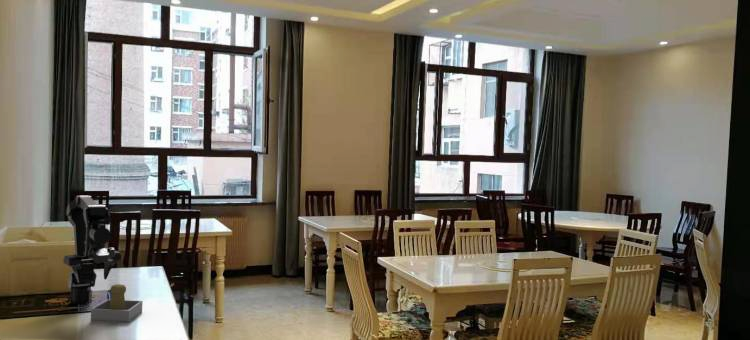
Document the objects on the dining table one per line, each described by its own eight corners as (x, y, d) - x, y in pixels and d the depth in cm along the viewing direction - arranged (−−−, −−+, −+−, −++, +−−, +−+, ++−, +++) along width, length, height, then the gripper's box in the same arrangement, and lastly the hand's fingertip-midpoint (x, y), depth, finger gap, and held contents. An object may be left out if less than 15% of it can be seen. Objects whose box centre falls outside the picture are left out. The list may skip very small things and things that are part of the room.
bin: (90, 321, 193) (91, 309, 193) (106, 310, 206) (107, 299, 206) (128, 322, 193) (129, 310, 193) (142, 312, 206) (142, 300, 206)
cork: (111, 312, 202) (113, 282, 202) (128, 312, 203) (130, 283, 203) (105, 317, 196) (106, 286, 196) (122, 317, 197) (123, 287, 197)
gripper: (76, 245, 189) (74, 289, 190) (130, 240, 203) (127, 282, 204) (63, 239, 196) (61, 282, 197) (116, 235, 210) (114, 275, 211)
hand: (92, 281), depth 202 cm, fingers open, 9 cm apart
